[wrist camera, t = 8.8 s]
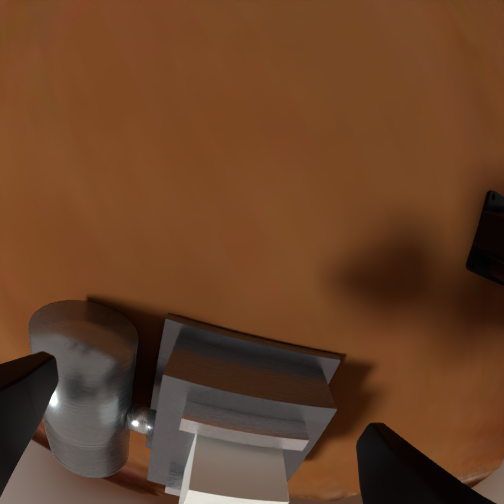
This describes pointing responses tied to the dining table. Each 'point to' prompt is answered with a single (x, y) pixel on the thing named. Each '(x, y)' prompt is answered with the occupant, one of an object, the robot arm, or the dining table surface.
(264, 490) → the white knobbed block
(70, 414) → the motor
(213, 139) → the dining table surface
